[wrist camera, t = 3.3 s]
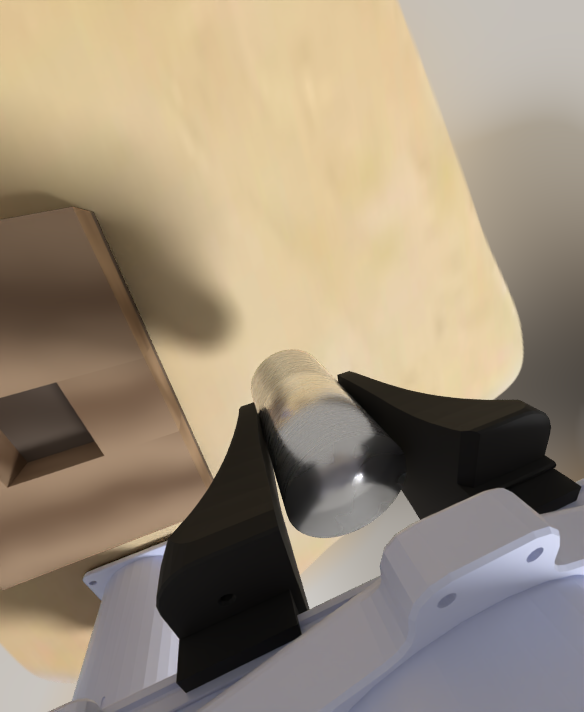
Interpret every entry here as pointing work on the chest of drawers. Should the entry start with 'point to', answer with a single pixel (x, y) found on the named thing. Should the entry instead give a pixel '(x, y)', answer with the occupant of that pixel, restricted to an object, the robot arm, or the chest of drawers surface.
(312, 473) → the peg
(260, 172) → the chest of drawers surface
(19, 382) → the socket board
